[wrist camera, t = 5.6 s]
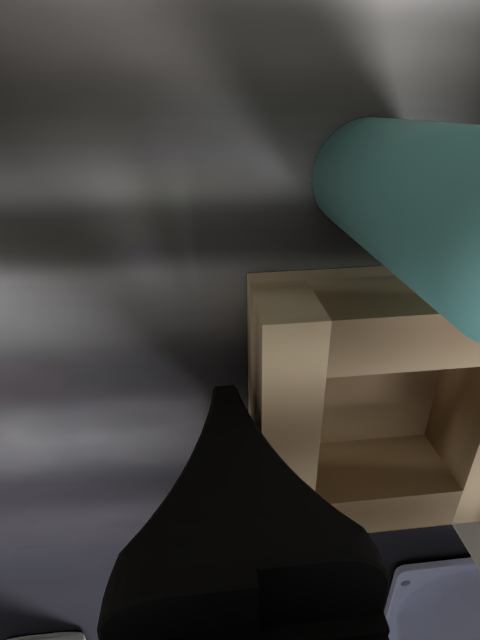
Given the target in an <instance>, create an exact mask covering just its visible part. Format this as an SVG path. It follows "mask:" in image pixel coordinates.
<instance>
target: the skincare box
mask: <svg viewBox="0 0 480 640" xmlns="http://www.w3.org/2000/svg"><path fill="white" fill-rule="evenodd" d="M7 640H86V638H85V635H84V634H83V633H81V632H58V633H48V634H39V635H30V636H22V637H16V638H10V639H7Z"/></svg>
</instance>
